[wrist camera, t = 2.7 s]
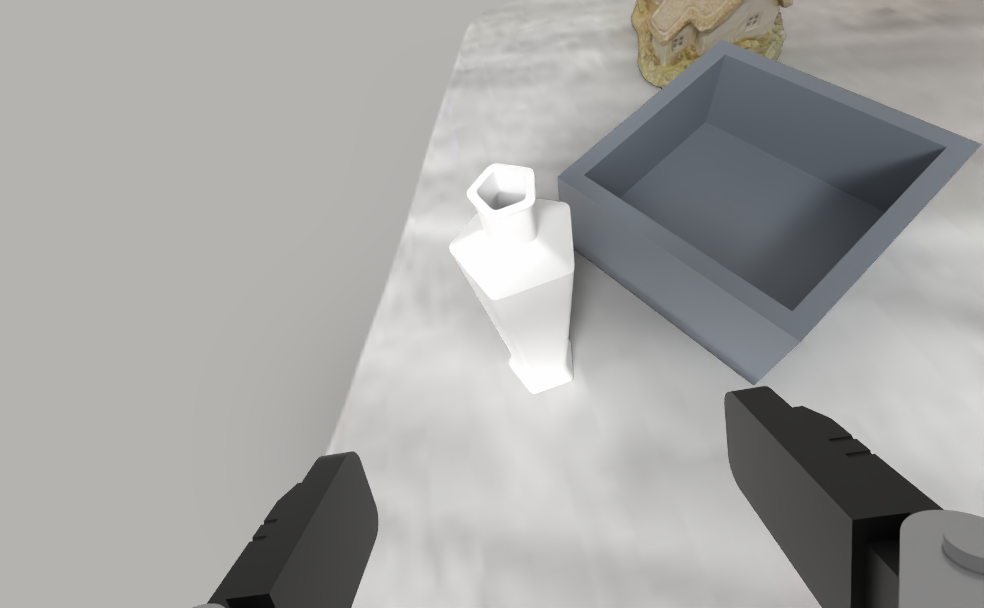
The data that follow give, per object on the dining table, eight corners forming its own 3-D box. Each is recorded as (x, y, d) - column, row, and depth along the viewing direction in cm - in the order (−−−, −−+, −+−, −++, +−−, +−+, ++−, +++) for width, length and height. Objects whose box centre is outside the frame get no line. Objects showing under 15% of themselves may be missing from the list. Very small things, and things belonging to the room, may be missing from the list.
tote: (699, 118, 33) (721, 39, 28) (904, 221, 27) (981, 144, 22) (562, 239, 31) (557, 177, 25) (753, 385, 24) (800, 341, 19)
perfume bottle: (502, 327, 28) (431, 143, 15) (574, 323, 28) (565, 125, 15) (502, 400, 26) (420, 259, 13) (580, 398, 26) (575, 246, 13)
